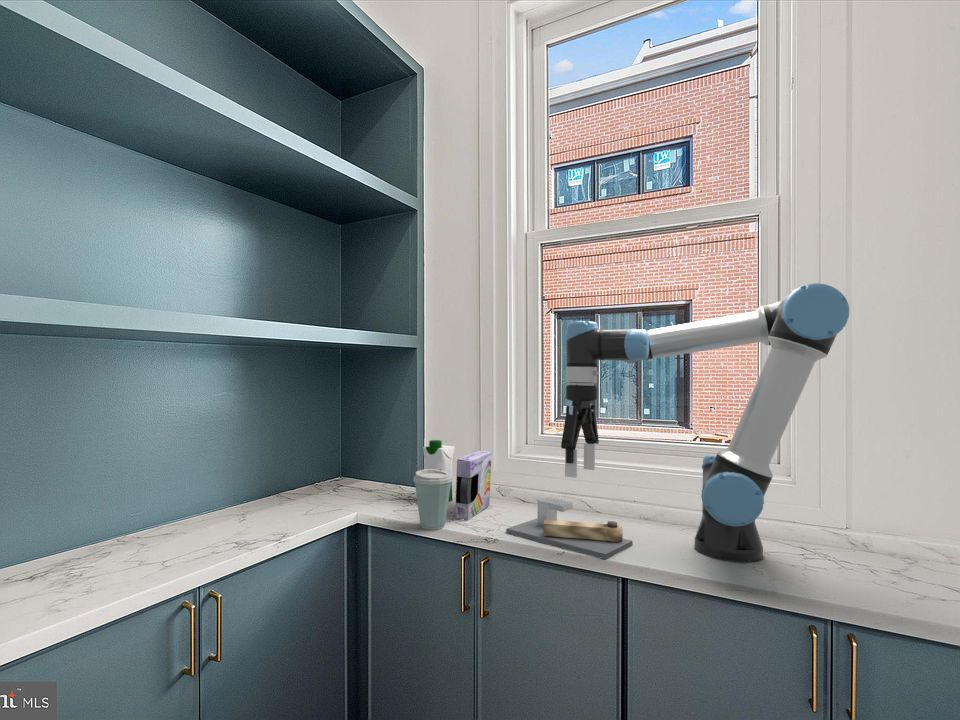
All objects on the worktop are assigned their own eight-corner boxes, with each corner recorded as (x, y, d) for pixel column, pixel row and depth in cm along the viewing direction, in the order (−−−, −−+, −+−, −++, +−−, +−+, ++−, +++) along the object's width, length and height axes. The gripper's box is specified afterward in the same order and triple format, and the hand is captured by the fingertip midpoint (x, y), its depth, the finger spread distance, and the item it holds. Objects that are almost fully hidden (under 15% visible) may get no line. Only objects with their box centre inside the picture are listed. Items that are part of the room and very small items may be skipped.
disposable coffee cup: (459, 525, 148) (460, 471, 148) (434, 535, 139) (436, 477, 139) (429, 519, 153) (430, 467, 154) (403, 528, 144) (405, 472, 145)
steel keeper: (572, 531, 144) (572, 502, 144) (562, 535, 140) (562, 505, 140) (547, 525, 149) (547, 497, 149) (537, 529, 145) (537, 500, 146)
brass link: (621, 536, 136) (622, 520, 136) (623, 542, 131) (623, 525, 131) (544, 530, 139) (544, 515, 139) (543, 536, 134) (543, 520, 135)
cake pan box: (468, 522, 152) (469, 459, 152) (452, 520, 154) (453, 458, 154) (491, 507, 170) (492, 451, 170) (476, 505, 171) (477, 450, 172)
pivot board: (632, 545, 133) (632, 540, 133) (605, 559, 123) (605, 554, 123) (536, 522, 152) (536, 518, 152) (506, 533, 142) (506, 528, 142)
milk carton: (418, 502, 174) (420, 440, 175) (435, 496, 182) (436, 437, 182) (440, 505, 170) (442, 442, 170) (456, 500, 177) (458, 440, 178)
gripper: (578, 385, 119) (577, 482, 119) (611, 384, 140) (610, 467, 139) (547, 384, 123) (546, 478, 123) (584, 383, 144) (583, 464, 143)
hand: (580, 473), depth 131 cm, fingers open, 12 cm apart
